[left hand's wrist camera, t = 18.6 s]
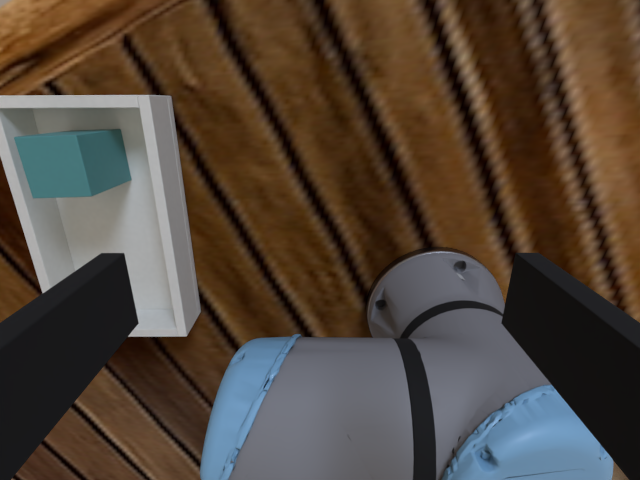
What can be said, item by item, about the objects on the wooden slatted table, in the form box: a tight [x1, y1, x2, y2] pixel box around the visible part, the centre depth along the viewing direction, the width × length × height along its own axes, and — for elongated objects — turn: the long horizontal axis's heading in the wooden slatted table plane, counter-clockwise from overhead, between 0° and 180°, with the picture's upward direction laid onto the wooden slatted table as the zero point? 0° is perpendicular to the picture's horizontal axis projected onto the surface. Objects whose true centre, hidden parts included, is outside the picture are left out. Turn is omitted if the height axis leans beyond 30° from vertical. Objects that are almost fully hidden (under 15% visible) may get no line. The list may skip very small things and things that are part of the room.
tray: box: [0, 95, 201, 337], centre depth 37 cm, size 24×14×5 cm, turn 0°
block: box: [14, 129, 132, 198], centre depth 33 cm, size 5×5×7 cm
